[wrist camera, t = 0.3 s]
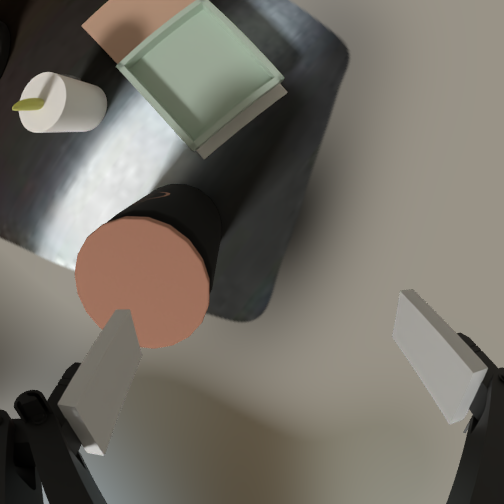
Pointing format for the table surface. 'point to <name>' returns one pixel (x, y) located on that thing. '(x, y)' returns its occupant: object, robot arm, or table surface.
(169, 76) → the mint green tray
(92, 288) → the coffee jar
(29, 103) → the candle
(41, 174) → the table surface
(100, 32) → the board
